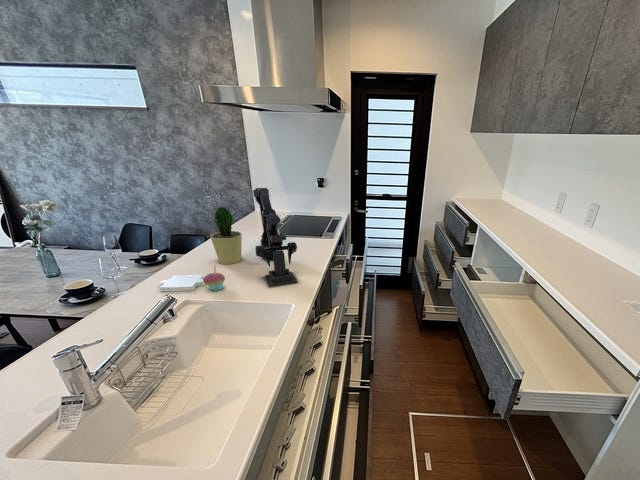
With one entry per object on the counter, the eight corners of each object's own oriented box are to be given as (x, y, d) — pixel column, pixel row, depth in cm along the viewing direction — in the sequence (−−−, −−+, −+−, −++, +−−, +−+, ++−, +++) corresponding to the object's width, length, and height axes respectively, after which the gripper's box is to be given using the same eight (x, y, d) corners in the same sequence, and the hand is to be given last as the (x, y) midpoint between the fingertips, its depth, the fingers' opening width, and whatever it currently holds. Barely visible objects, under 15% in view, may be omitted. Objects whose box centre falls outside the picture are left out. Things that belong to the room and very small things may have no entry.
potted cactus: (208, 262, 164) (197, 206, 152) (230, 254, 177) (221, 202, 165) (230, 267, 159) (220, 209, 147) (251, 258, 172) (243, 205, 160)
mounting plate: (154, 291, 131) (153, 287, 130) (169, 279, 142) (168, 275, 142) (198, 290, 133) (197, 286, 132) (209, 278, 145) (208, 275, 144)
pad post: (275, 276, 146) (272, 251, 141) (284, 275, 148) (282, 250, 143) (276, 280, 142) (274, 254, 137) (286, 279, 144) (284, 253, 139)
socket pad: (265, 276, 148) (264, 270, 147) (291, 273, 154) (291, 266, 152) (269, 287, 138) (268, 280, 136) (297, 282, 143) (297, 276, 141)
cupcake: (230, 286, 138) (226, 261, 133) (216, 294, 130) (211, 268, 125) (215, 283, 140) (210, 259, 135) (200, 290, 133) (195, 265, 128)
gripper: (253, 228, 135) (259, 259, 131) (294, 225, 143) (302, 254, 138) (253, 241, 145) (259, 270, 140) (292, 237, 152) (299, 265, 148)
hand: (280, 265), depth 141 cm, fingers open, 9 cm apart
